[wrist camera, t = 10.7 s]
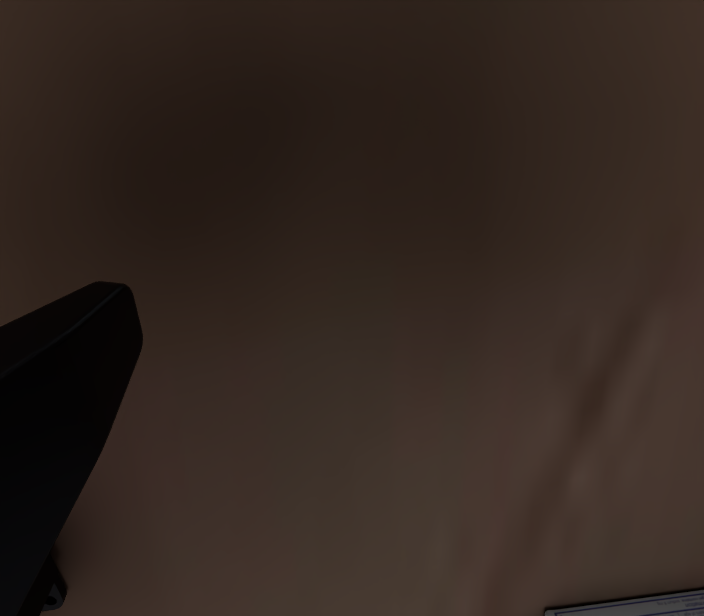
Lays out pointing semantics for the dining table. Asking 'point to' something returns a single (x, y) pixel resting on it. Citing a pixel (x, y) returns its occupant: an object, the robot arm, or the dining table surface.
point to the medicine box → (642, 607)
